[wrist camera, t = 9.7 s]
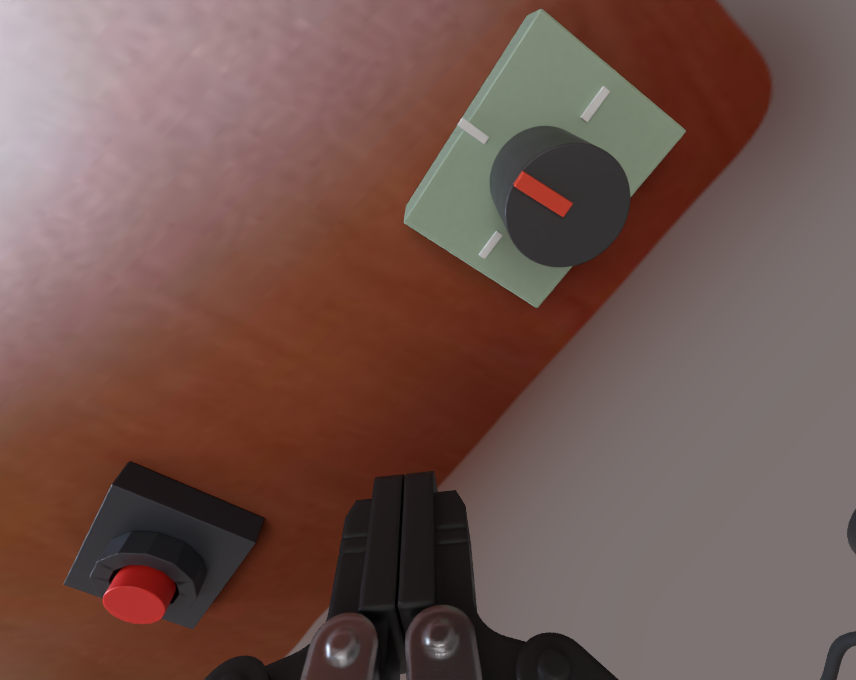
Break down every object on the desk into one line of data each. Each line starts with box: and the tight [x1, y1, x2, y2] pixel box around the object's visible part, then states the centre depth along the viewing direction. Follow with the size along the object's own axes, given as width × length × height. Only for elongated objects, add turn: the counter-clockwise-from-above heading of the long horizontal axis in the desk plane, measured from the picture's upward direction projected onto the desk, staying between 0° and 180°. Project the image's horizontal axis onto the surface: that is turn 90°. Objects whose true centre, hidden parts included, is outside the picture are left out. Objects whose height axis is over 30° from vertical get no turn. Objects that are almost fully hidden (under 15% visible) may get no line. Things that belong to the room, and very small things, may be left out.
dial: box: [490, 126, 630, 267], centre depth 20 cm, size 4×4×6 cm
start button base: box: [64, 462, 264, 629], centre depth 36 cm, size 12×10×4 cm
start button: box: [103, 565, 176, 624], centre depth 34 cm, size 4×4×2 cm
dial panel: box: [404, 9, 686, 308], centre depth 24 cm, size 10×9×3 cm
